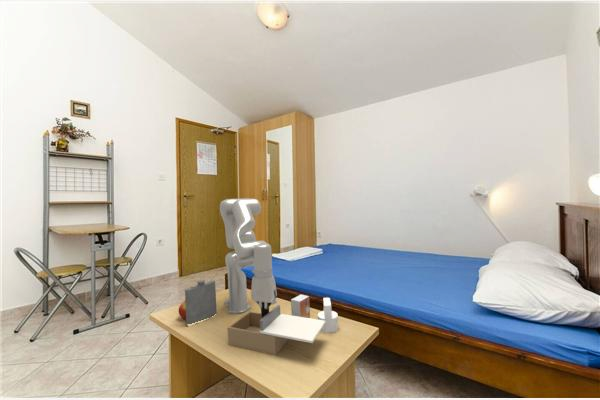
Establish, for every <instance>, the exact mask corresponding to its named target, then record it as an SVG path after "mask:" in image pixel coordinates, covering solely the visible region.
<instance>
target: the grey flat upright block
mask: <svg viewBox="0 0 600 400" xmlns="http://www.w3.org/2000/svg"><path fill="white" fill-rule="evenodd" d="M196 282H197V283H196V284H195V285H192V286H190V287H187V288H184V301H185V302H186V319H185V321H186V325H187V324H192V323H195V322H198V321H201V320H204V319H207V318H210V317H212V316H214V315H215V314H217V315H218V312H217V309H218V308H217V295H216V292H217V291H216V281H215V280H209V281H207V282H206V280H205V279H198V280H196ZM215 316H216V315H215ZM215 316H214V317H215ZM212 318H213V317H212ZM210 319H211V318H210Z"/></svg>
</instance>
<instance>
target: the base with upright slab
mask: <svg viewBox="0 0 600 400" xmlns="http://www.w3.org/2000/svg"><path fill="white" fill-rule="evenodd" d="M322 300H323V303H322V304H323V310H322V311H319V312H318V313H317V319H318V320H324V321H326V323H325V325H324V326H323V328H322V329H321V331H320V332H322V333H324V334H325V333H326V334H330V333H331V334H332V333H335V332H337V331H339V319H338V318H339V317H338V312H336V311H334V310H332V303H331V298H330V297H323V299H322Z"/></svg>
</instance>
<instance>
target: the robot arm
mask: <svg viewBox="0 0 600 400" xmlns="http://www.w3.org/2000/svg"><path fill="white" fill-rule="evenodd" d="M261 211H262V206H261V202H260V201H259V200H258V199H257V198H249V197H248V198H246V197H244V198H227V199H224V200H222V201H220V204H219V212H220V215H221V218H222V220H223V224H224V230H225V242H226V246H227V248H228V249H233V251H230V252H228V253H227V254H226V255H225V258H224V259H225V260H224V261H225V266H226V271H227V286H228V299H227V298H226V299H225V300H224V302H223V304H224V305H226V306H227V307H226V310H227V311H226V312H227V313H228V314H230V313H232V315H238V314H242V313H246V312H249V310H250V309H251V304H250V303H249V302H248V294H247V292H248V291H247V275H246V273H245V272H244V271H243V270H242V269H243V268H249V267H250V268H251V267H253V269H252V270H251V272H252V274H254V275H253V276H252V279H251V291H250V293H251V294H250V297H251V300H252V301H253V302H254V303H256V304H257V305H258V306H259V308H260V313H261V315H262V318H263V317H264V316H265V315H267V314H268V313H269V312H270V307H271V305H276V304H277V297H278V296H277V295H278V293H277V286H276V285H277V284H276V280H275V276H274V275H273V260H272V259H273V257H272V255H273V254H272V245H271V244H269V243H267V242H266V241H265V240H257V238H256V237H257V236H256V234H255V232H254V231H253V230H254V227H255V226H256V220H255V217H254V216H256V215H259V214H260V213H261Z"/></svg>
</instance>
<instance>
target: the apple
mask: <svg viewBox="0 0 600 400" xmlns="http://www.w3.org/2000/svg"><path fill="white" fill-rule="evenodd" d="M178 315H179V316H180V318H181V319H183V318H186V302H185V300H184V301H183V302H181V304H180V305H179V307H178Z"/></svg>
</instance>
